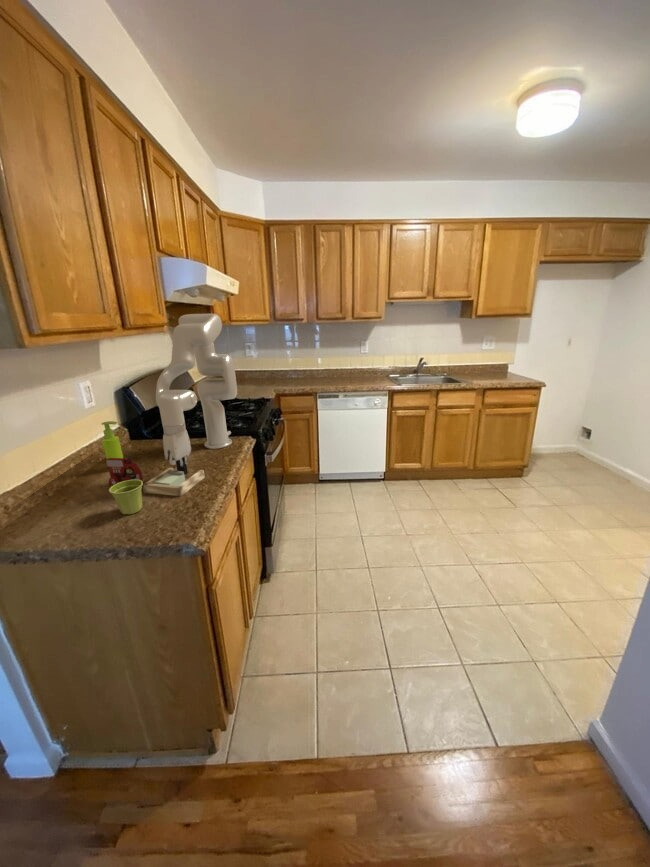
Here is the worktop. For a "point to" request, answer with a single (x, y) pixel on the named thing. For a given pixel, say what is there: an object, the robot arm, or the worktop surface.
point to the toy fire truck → (123, 470)
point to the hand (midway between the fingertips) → (183, 474)
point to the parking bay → (170, 489)
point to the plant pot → (128, 495)
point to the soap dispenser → (111, 442)
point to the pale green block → (172, 478)
